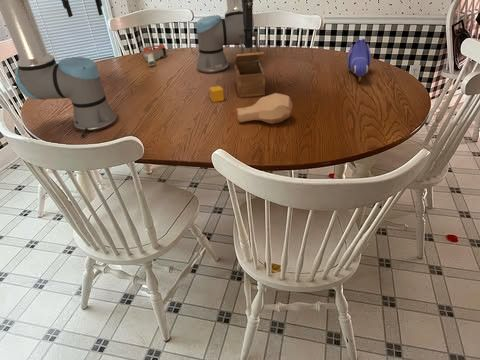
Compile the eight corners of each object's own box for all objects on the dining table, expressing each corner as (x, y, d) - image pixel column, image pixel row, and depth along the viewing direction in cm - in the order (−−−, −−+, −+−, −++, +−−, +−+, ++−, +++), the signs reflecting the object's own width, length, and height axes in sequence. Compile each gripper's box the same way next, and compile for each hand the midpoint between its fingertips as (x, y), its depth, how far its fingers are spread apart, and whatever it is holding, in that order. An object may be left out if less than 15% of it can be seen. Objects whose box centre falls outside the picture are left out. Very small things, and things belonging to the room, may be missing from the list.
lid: (264, 54, 137) (262, 30, 135) (236, 56, 136) (234, 32, 134) (258, 60, 154) (257, 39, 152) (234, 62, 153) (232, 41, 151)
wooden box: (265, 95, 146) (264, 73, 140) (239, 97, 145) (238, 75, 140) (259, 80, 159) (258, 60, 154) (235, 82, 159) (234, 62, 153)
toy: (345, 75, 169) (348, 84, 147) (347, 38, 162) (351, 41, 140) (367, 75, 167) (373, 84, 145) (370, 36, 160) (377, 40, 138)
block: (224, 100, 144) (223, 89, 141) (213, 102, 143) (212, 91, 140) (221, 96, 147) (220, 85, 145) (210, 98, 146) (209, 87, 144)
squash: (296, 124, 124) (294, 103, 117) (239, 134, 126) (235, 113, 119) (291, 106, 131) (289, 85, 125) (238, 116, 133) (233, 96, 127)
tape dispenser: (152, 70, 182) (177, 56, 195) (150, 60, 179) (175, 46, 191) (127, 64, 190) (153, 51, 202) (125, 54, 186) (151, 41, 199)
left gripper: (102, -44, 147) (116, 12, 160) (44, -40, 148) (61, 15, 160) (96, -42, 141) (111, 15, 153) (35, -38, 142) (54, 19, 154)
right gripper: (259, -20, 120) (260, 51, 134) (253, -25, 132) (255, 41, 146) (237, -19, 120) (241, 53, 133) (233, -24, 132) (237, 42, 145)
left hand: (85, 15), depth 157 cm, fingers open, 13 cm apart
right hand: (248, 46), depth 140 cm, fingers closed on lid, 2 cm apart
